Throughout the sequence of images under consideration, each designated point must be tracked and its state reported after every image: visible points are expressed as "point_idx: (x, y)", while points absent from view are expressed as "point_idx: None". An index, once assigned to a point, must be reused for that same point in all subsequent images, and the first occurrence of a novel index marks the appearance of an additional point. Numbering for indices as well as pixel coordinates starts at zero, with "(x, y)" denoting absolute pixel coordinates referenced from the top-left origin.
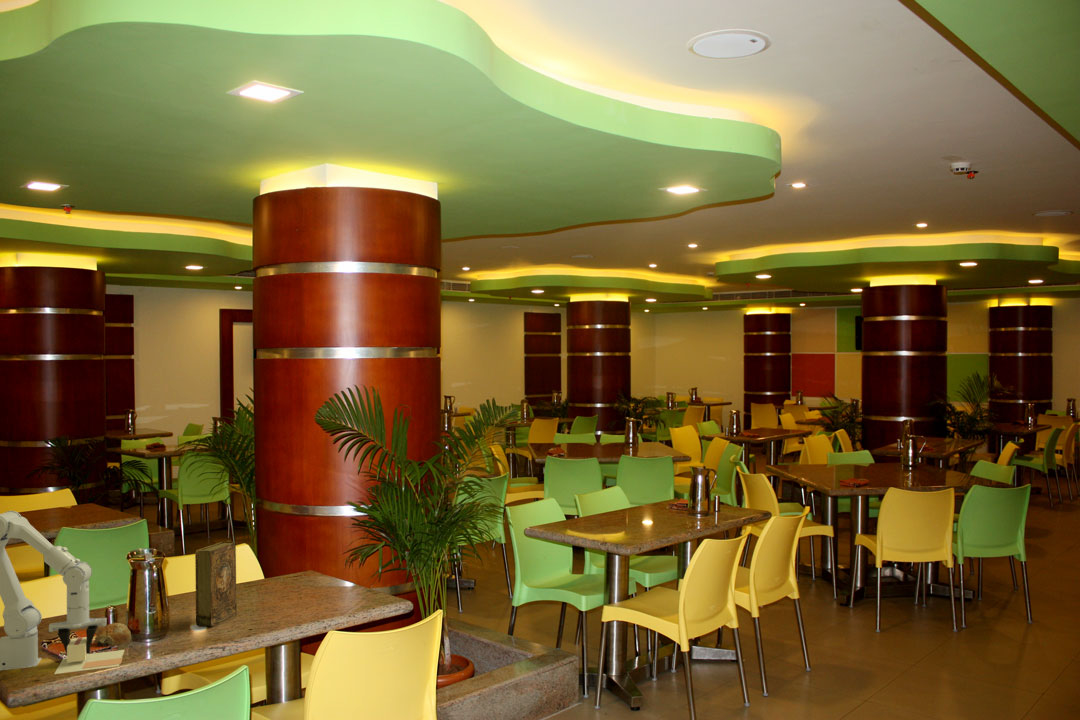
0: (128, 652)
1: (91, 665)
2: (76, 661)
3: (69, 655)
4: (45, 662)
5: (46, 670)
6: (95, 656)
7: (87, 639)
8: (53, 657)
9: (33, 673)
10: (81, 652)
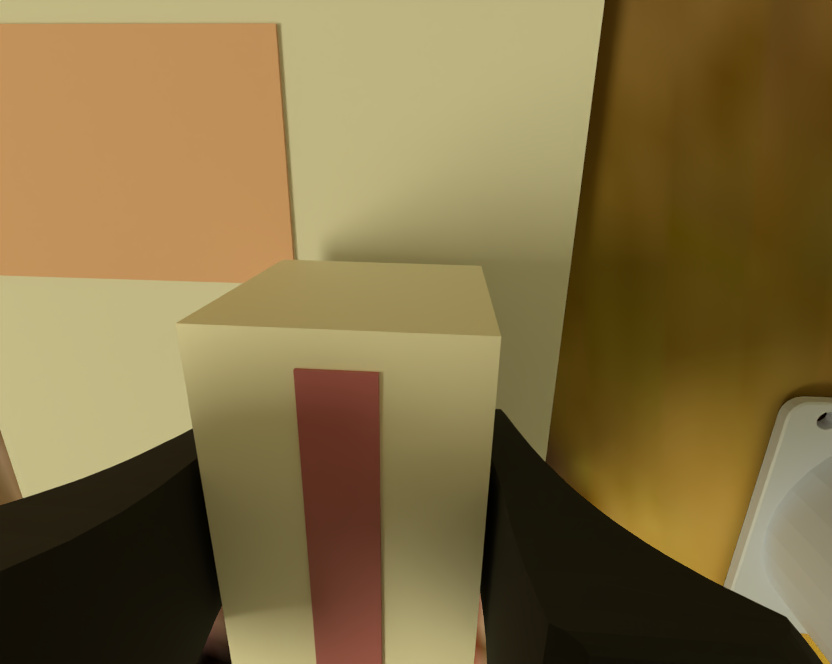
0: (10, 490)
1: (192, 109)
2: None
3: (454, 283)
4: (684, 529)
5: (686, 261)
6: None
7: (145, 489)
8: None
9: (828, 207)
10: (286, 286)
